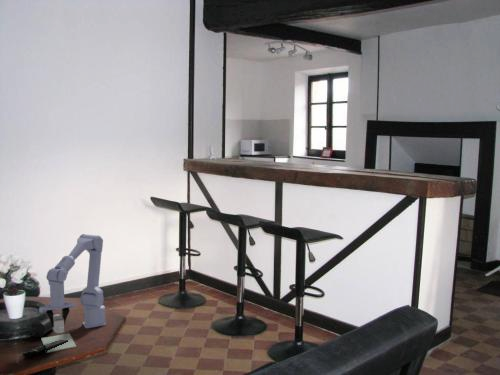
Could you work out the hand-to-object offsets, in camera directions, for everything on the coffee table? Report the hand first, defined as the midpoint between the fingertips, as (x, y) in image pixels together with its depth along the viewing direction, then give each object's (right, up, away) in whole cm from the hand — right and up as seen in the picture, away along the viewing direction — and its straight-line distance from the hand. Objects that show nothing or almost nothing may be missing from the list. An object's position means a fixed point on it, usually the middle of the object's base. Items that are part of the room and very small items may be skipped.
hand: (58, 325), depth 221 cm
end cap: (-11, -7, +12) cm, 17 cm away
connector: (+1, -2, -1) cm, 2 cm away
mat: (0, -8, +1) cm, 8 cm away
